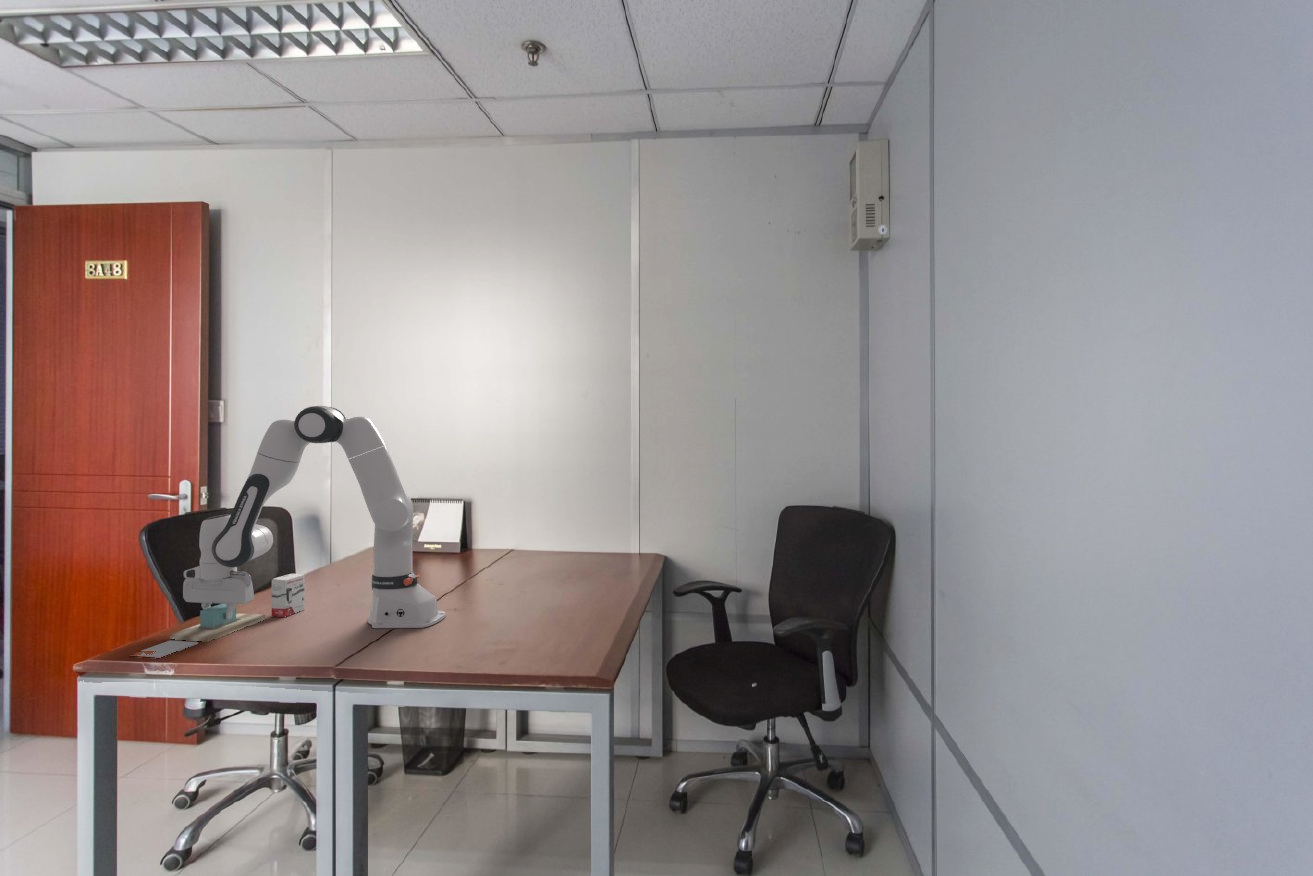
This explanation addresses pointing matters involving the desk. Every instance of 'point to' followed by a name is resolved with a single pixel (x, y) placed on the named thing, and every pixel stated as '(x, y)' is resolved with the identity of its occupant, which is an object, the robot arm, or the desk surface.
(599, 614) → the desk surface
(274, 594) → the ink box
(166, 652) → the rest mat
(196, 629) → the birch board
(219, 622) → the sanding block
